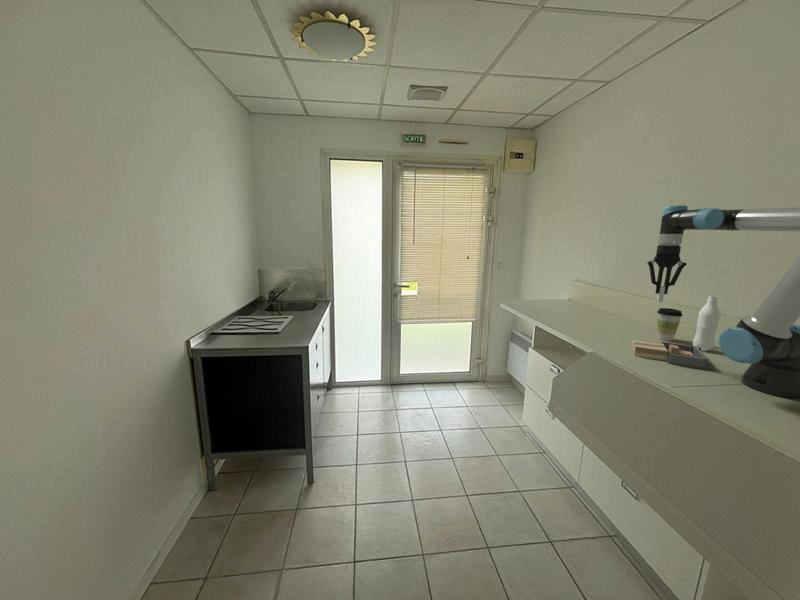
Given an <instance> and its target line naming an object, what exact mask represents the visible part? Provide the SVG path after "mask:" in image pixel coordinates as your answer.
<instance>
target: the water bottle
mask: <svg viewBox="0 0 800 600" xmlns="http://www.w3.org/2000/svg"><path fill="white" fill-rule="evenodd" d="M718 298H719V296H718V295H710V294H709V296H708V298H707V299H706V301H707V302H706V304H705V305H703V306H702V308H701V309H700V310H699V312H698V317H697V321H696V332H695V335H694V338H693V340H692V346H696V347H697V348H698V349H699V350H700V349H701V350H700V351H701V352H711V351H713V348H714V347H715V336H716V332H717V330H718V327H719V322H720V318H721V316H722V315H721V311H720V309H719V307H718V303H719V300H718Z"/></svg>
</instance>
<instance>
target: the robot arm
mask: <svg viewBox="0 0 800 600" xmlns="http://www.w3.org/2000/svg"><path fill="white" fill-rule="evenodd" d="M687 230H688V231H690V230H691V231H694V230H695V231H697V230H700V231H709V230H710V231H753V232H754V231H756V232H759V231H760V232H761V231H762V232H797V233H798V232H800V207H777V208H776V207H773V208H771V207H770V208H749V209H748V208H746V209H744V208H743V209H740V208H739V209H720V208H717V207H716V208H715V207H714V208H712V207H711V208H709V207H706V208H699V209H688V206H687V205H685V204H683V205H680V204H679V205H667V206H665V207H664V208H663V211H662V215H661V221H660V230H659V235H658V242H657V243H658V245H657V247H656V251H655V252H656V253H655V256H654V258H653V259H651V260H647V262H646V264H647V265H648V266H649V274H650V281H651V284H653V285H654V286H656V287H655V294H657V298H656V299H657V300H656V301H657V302H658V303H664V302H663V301H664V296H665V295H667V294H668V292H669V287H671V286H675V285H676V283H677V281H678V279H679V277H680V275H681V274H682V273H681V272H682V271H683V269H684V268H685V267H686V266H687V265H688V264H687V262H684V261H683V260H681V257H680V256H681V255H680V254H681V248H682V246H681V245H682V243H683V238H684V232H685V231H687ZM655 263H656V265H657V266H658V272H657V273H658V274H657V279H656V273H655V266H654V265H655ZM676 265H677V268H676V270H675V272H674V274H673V276H671V275H672V271H673V268H674V267H675V266H676ZM665 269H666V271H665V278H664V283H663V285H662V281H663V275H664V270H665ZM671 277H672V278H671ZM799 318H800V254H799V255H798V256H797V258H796V259H795V261H793V263H792V264H791V265H790V266H789V268H788V270H786V271H785V273H784V274H783V275H782V277H781V278H780V279H779V281H778V282H777V283H776V284H775V286H774V287H773V288H772V290H771V291H770V292H769V293H768V295H767V296H766V297H765V298H764V300H763V301H762V303H761V304H760V305H759V306H758V307H757V308H756V310H755V311H754V312H753V314H748V315H744V316H743V317H741V319H740V321H739V322H738V323H737V324H736V326H732V327H729V328H726V329H724V330H723V331H722V332H720V334H719V336H718V345H719V347H720V350H721V352H722V353H723V354H724V356H725V357H726V358H728V359H729V360H731V361H733V362H736V363H740V364H749V366H748V367H747V368H746V370H745V371H744V372H743V374H742V375H741V379H740V380H741V381H740V382H741V383H742V384H743V385H744V386H746V387H749V388H751V389H753V390H755V391H760V392H762V393H765V394H769V395H771V396H772V395H773V396H776V397H781V398H788V399H798V400H800V325H798V324H795V323H796V322H797V320H799Z"/></svg>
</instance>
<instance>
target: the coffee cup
mask: <svg viewBox="0 0 800 600" xmlns="http://www.w3.org/2000/svg"><path fill="white" fill-rule="evenodd" d="M656 313H657V319H656V320H657V321H656V324H657V325H656V338H657V339H658V340H660V341H663V342H672V341H673V340H674V339H675V335H676V333H677V331H678V328H679V324H680V323H681V318H682V317H683V313H682V310H679V309H675V308H667V307H661V308H659V309H658V310H657V311H656Z"/></svg>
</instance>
